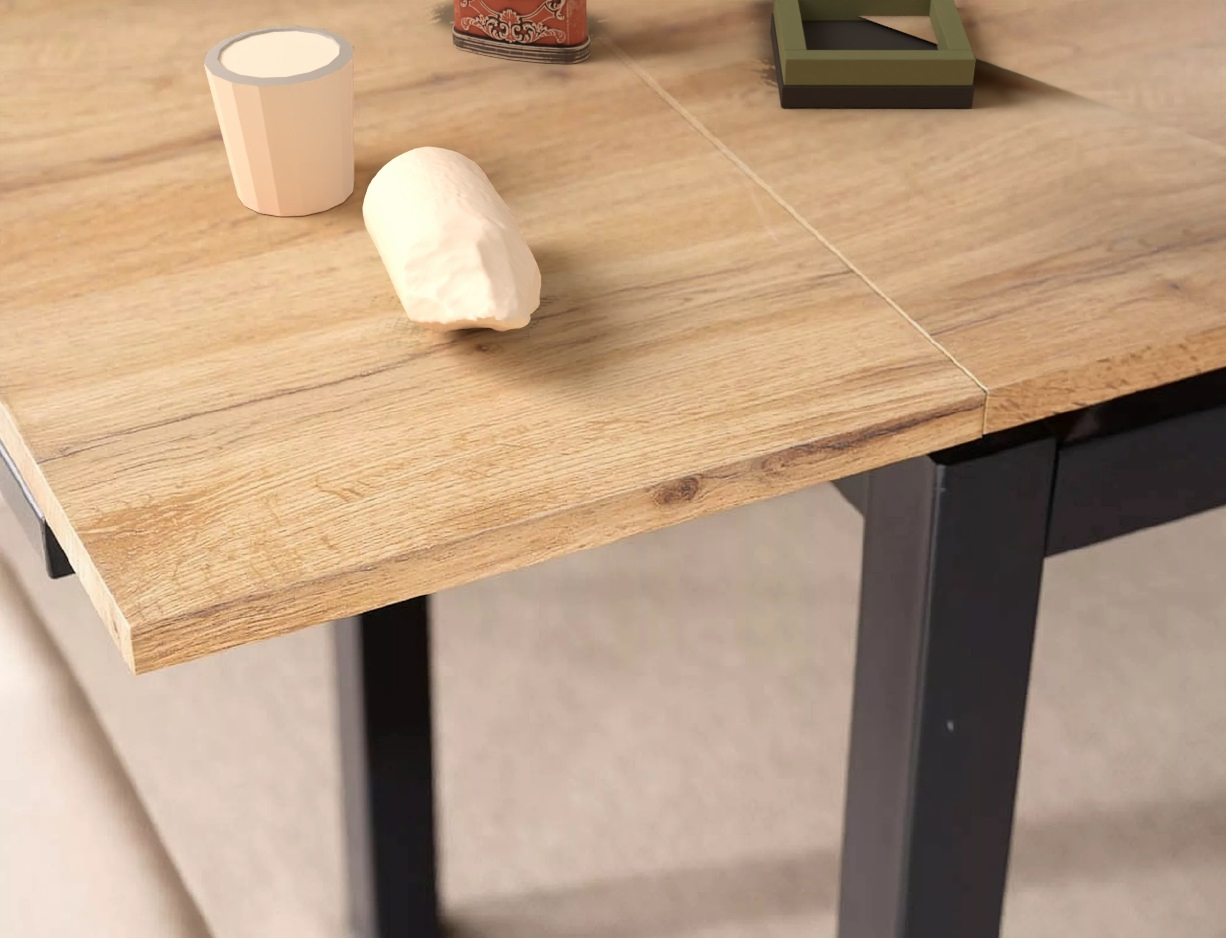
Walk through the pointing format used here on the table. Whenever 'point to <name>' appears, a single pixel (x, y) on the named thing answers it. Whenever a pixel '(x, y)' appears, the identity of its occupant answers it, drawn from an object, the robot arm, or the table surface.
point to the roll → (450, 243)
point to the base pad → (869, 55)
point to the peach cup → (286, 117)
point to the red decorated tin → (523, 29)
